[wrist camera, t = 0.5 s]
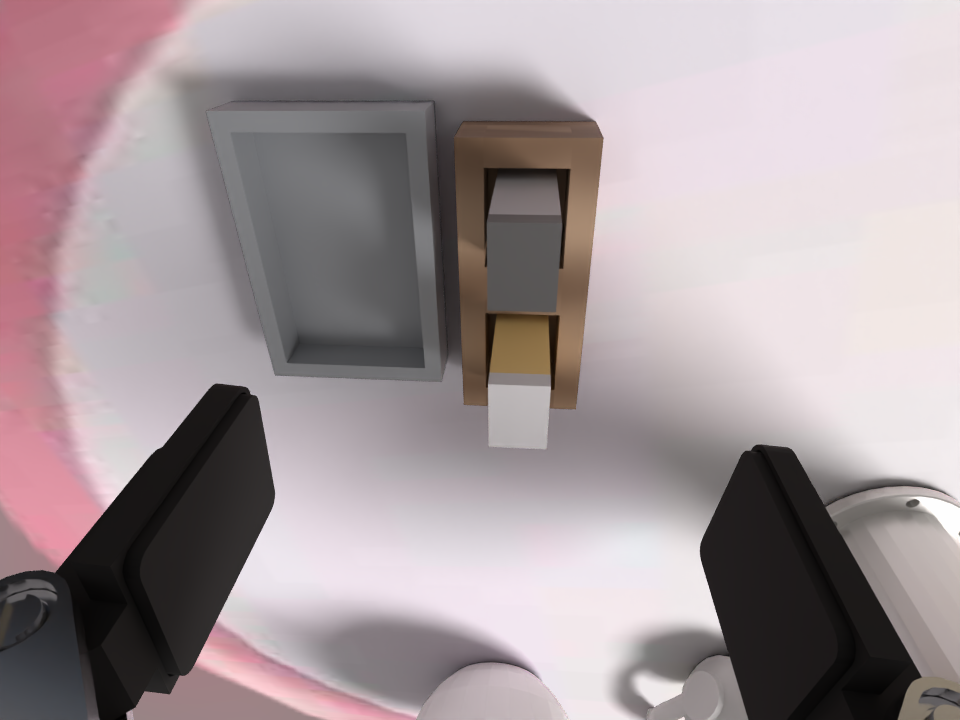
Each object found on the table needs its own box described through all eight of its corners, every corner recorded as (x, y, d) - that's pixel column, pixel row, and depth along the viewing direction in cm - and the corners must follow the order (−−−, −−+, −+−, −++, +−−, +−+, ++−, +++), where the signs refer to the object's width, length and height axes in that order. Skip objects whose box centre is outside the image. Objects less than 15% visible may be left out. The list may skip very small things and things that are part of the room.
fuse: (544, 355, 36) (546, 449, 29) (498, 353, 36) (488, 446, 29) (547, 300, 34) (550, 386, 27) (498, 298, 34) (488, 384, 27)
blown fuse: (551, 237, 32) (556, 312, 24) (498, 236, 32) (487, 310, 25) (555, 165, 30) (562, 223, 22) (499, 164, 30) (486, 222, 22)
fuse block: (572, 372, 38) (575, 409, 35) (470, 369, 39) (463, 404, 35) (595, 121, 29) (603, 137, 26) (463, 121, 30) (453, 137, 26)
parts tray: (447, 356, 38) (441, 381, 36) (291, 350, 39) (274, 375, 36) (434, 101, 29) (424, 110, 27) (232, 101, 30) (205, 110, 28)
